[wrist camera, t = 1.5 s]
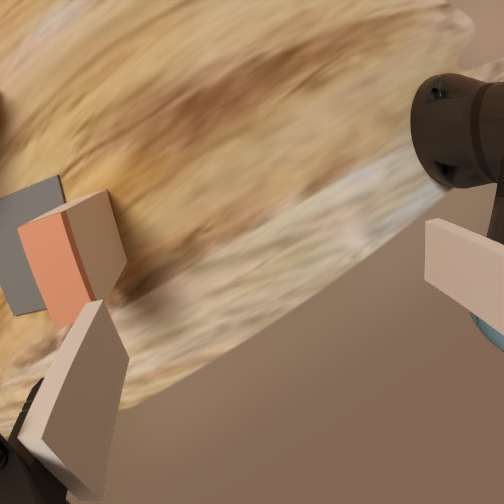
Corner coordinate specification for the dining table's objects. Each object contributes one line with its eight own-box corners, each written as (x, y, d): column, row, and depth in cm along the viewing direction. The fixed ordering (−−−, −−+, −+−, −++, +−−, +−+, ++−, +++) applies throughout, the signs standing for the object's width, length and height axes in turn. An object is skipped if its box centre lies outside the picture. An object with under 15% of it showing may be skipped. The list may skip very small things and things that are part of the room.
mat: (58, 175, 28) (57, 175, 28) (96, 296, 33) (95, 297, 32) (-23, 209, 27) (-25, 210, 26) (15, 314, 32) (13, 315, 31)
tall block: (106, 188, 30) (60, 212, 18) (127, 261, 32) (97, 317, 21) (73, 199, 29) (17, 228, 18) (95, 269, 32) (55, 326, 21)
